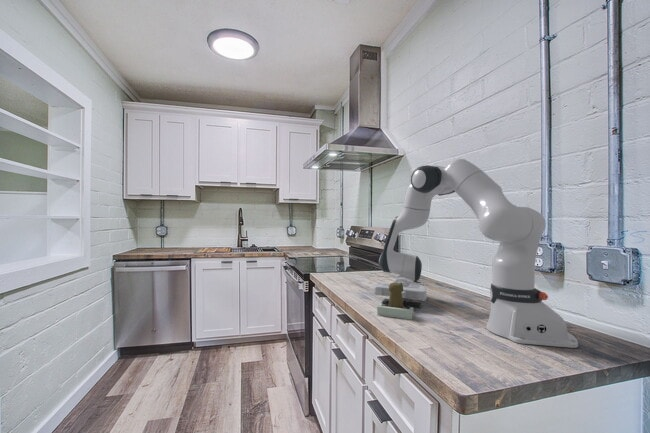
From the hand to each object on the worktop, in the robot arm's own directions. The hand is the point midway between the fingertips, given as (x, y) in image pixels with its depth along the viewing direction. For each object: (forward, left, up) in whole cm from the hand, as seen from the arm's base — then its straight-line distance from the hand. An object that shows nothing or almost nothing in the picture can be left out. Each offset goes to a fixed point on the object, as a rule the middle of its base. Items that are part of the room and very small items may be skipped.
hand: (397, 296), depth 109 cm
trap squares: (0, -11, -6) cm, 12 cm away
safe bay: (0, +5, -6) cm, 7 cm away
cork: (0, +2, -6) cm, 6 cm away
